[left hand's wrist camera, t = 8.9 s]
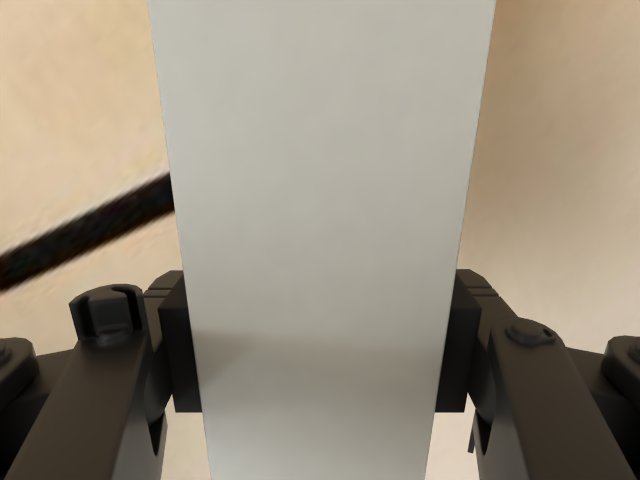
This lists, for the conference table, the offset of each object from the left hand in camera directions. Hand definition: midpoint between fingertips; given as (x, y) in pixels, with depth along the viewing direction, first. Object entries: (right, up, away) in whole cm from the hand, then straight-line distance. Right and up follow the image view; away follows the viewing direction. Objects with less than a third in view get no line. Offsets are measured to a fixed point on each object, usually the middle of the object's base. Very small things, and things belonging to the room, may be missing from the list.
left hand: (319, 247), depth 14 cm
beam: (0, +21, -7) cm, 22 cm away
